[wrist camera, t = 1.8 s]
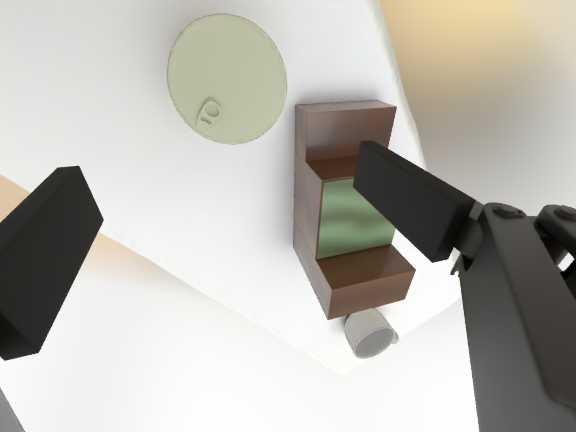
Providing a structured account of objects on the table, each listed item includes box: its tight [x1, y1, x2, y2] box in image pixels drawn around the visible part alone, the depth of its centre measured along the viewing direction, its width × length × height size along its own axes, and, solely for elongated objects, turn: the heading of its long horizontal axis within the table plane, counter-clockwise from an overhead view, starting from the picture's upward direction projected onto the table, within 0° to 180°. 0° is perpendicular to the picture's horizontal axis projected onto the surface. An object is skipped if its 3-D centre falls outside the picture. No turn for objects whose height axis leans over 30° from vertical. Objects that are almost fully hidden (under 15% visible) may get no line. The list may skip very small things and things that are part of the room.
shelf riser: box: [293, 100, 416, 320], centre depth 36 cm, size 24×12×16 cm, turn 0°
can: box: [167, 14, 287, 144], centre depth 25 cm, size 9×9×12 cm
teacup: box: [344, 308, 399, 359], centre depth 64 cm, size 14×11×8 cm
